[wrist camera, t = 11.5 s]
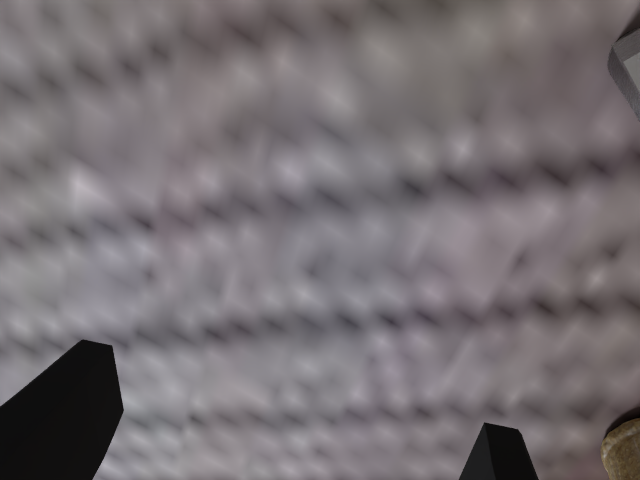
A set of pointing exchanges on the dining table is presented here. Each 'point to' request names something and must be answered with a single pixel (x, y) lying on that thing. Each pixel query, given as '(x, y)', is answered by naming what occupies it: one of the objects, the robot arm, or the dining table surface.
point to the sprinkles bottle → (622, 451)
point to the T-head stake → (627, 68)
